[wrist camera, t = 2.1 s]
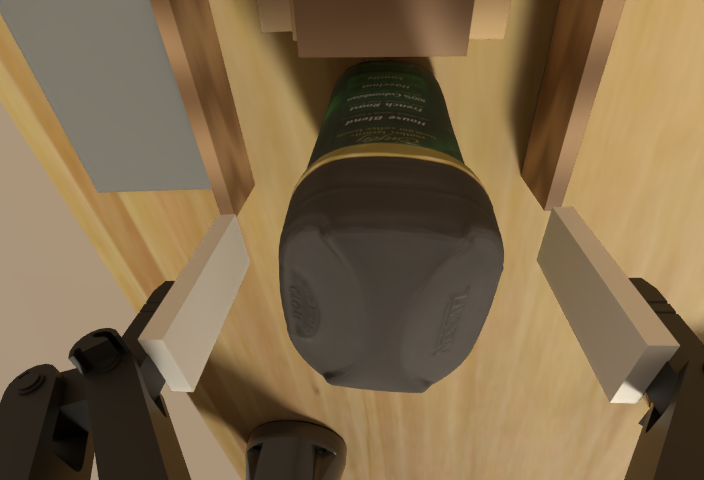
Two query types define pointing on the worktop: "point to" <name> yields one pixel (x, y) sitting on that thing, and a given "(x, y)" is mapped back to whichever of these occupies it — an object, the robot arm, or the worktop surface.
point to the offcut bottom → (274, 15)
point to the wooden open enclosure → (547, 129)
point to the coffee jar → (388, 238)
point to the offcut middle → (485, 19)
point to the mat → (111, 90)
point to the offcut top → (382, 28)
